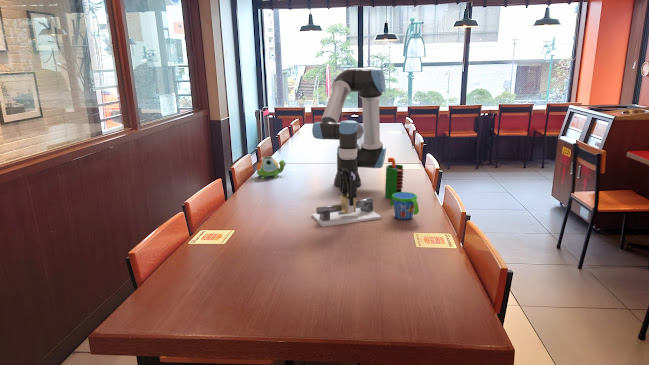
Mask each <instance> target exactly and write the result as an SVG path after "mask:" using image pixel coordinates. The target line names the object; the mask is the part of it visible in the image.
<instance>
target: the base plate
mask: <svg viewBox="0 0 649 365" xmlns="http://www.w3.org/2000/svg"><path fill="white" fill-rule="evenodd" d="M311 217H312V218H313V219H314V220H315V221H316V222H317V223H318V224H319V225H320V226H321V227H322V228H323V227H329V226H337V225H344V224H345V225H346V224H353V223H360V222H365V221H367V222H368V221H372V220H374V221H375V220H380V219H382V216H381V215H380V214H378V213H376V212H375V211H374V210H373V211H371V212H366V211H363V210H360V207H359V208H356V212H353V213H344V212H342V211H341V212H333V213H330V220H328V221H323V220H322V219H321V218H320V214H317V212H316V213H311Z"/></svg>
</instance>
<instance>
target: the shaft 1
mask: <svg viewBox="0 0 649 365" xmlns="http://www.w3.org/2000/svg"><path fill="white" fill-rule="evenodd" d="M341 211H342V207H341V204H335V205H326V206H318V207H316V210H315V212H316V213H317V214H320V218H321V219H322V220H323V221H328V220H330V213H333V212H341Z"/></svg>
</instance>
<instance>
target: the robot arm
mask: <svg viewBox="0 0 649 365" xmlns="http://www.w3.org/2000/svg"><path fill="white" fill-rule="evenodd" d="M385 78H386V77H385V73H384V70H383V69H382V68H380V67H350V68H347V69H344V70H343V71H342V72H341V73H339V74H338V75H337V76H336V78H334V80H333V81H332V84H331V92H330V96H329V98H328V101H327V103H326V106H325V108H324V112H323V114H322V117H321V119H320V121H316V122H314V123H313V124H312V128H311V129H312V130H311V133H312V137H313V138H314V139H316V140H318V139H319V140H331V141H333V140H335V141H336V140H337V141H338V142H339V145H338V146H337V148H336V149H337V150H336V174H335V177H334V180H333V185H334V187H336V188H339V191H340V192H341V195H343V194H348V197H347V213H352V212H354V198H356V199H357V188H358V187H361V185H362V180H361V177H360V174H359V168H366V169H367V168H368V169H381V168H383V166H384V164H385V159H386V153H387V148H386V147H385V146H384V143H383V142H382V141H381V139H380V138H381V137H380V136H381V132H380V131H381V130H380V128H381V127H380V125H381V124H380V97H381V96H382V95H383V93H384V92H385V90H386V79H385ZM353 92H354V93H358V97H359V98H360V99H361V103H362V105H361V106H362V107H361V108H362V110H361V111H362V123H360V122H358V121H356V120H351V119H350V120H340V116H341V114H342V110H343V108H344V105H345V102H346V99H347V97H348V96H349V95H350V93H353ZM339 120H340V122H339ZM362 136H363V141H362V142H361V144H360V145H359V143H358V140H359V139H361V138H362Z"/></svg>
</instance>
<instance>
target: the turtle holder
mask: <svg viewBox="0 0 649 365" xmlns="http://www.w3.org/2000/svg"><path fill="white" fill-rule="evenodd" d="M285 166H286V161H285V159H283V160H280V161H279V162H277V161H276V160H275V159H274V157H273V156H263V157H261V158H260V160H259V161H258V163H257V165H256V174H257V176H259V177H260V180H265V179H266V177H272V178H273V179H277V178H278V175H279V174H281V173H283V171H284V169H285Z"/></svg>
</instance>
